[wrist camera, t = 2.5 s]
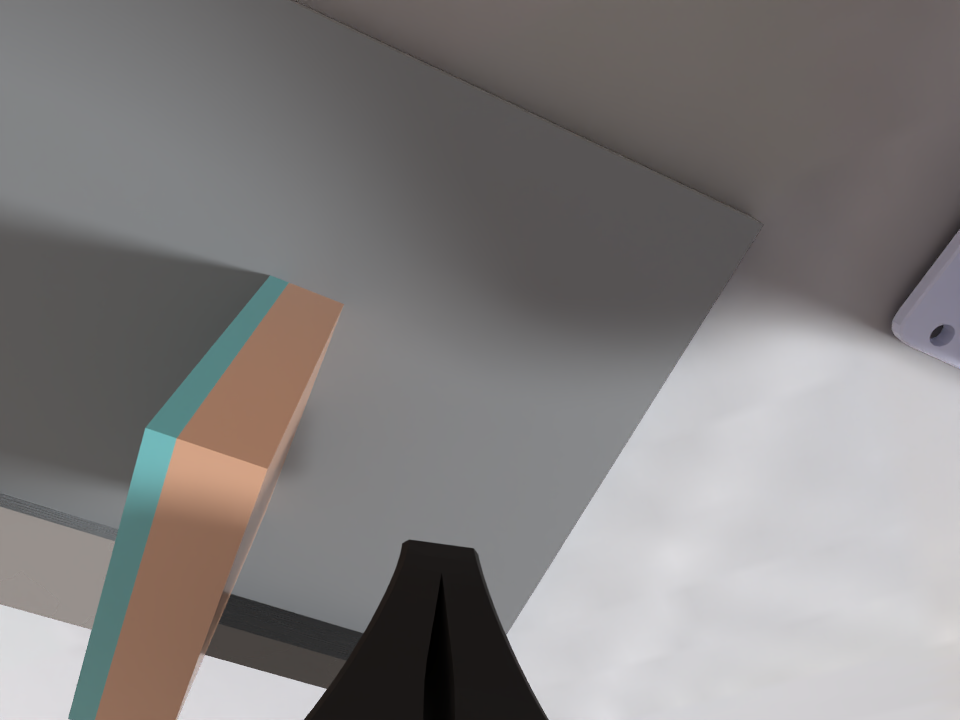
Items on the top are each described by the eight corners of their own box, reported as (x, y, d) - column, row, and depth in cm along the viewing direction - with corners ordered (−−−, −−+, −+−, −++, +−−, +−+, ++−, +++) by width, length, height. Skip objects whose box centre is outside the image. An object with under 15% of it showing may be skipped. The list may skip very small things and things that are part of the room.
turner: (415, 620, 18) (412, 650, 17) (374, 695, 20) (369, 726, 19) (-103, 461, 16) (-138, 487, 15) (-112, 558, 17) (-143, 587, 16)
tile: (343, 304, 14) (268, 468, 9) (264, 513, 17) (167, 743, 11) (270, 275, 14) (145, 427, 9) (200, 492, 16) (68, 718, 11)
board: (752, 217, 14) (763, 224, 14) (456, 697, 21) (455, 715, 20) (-191, -229, 11) (-225, -242, 10) (-199, 509, 17) (-221, 525, 17)
